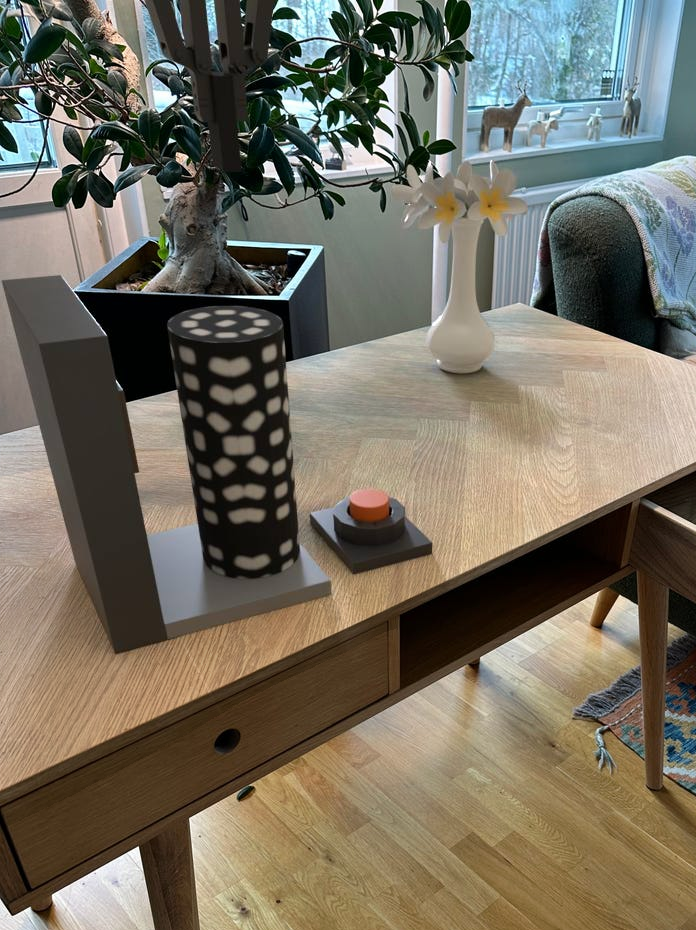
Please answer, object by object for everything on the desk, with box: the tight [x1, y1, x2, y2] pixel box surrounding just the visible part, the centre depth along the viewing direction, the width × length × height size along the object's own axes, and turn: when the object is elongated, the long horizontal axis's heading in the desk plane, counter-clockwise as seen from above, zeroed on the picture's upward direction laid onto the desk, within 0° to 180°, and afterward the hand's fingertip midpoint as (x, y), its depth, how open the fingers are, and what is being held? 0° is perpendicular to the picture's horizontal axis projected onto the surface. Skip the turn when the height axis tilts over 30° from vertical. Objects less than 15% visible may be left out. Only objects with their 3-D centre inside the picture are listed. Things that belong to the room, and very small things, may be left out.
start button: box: [349, 488, 390, 522], centre depth 81 cm, size 4×4×2 cm
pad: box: [309, 496, 434, 575], centre depth 82 cm, size 10×8×3 cm
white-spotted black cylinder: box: [166, 305, 301, 579], centre depth 71 cm, size 8×8×20 cm
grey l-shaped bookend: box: [1, 274, 333, 654], centre depth 69 cm, size 14×18×24 cm
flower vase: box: [390, 160, 528, 374], centre depth 113 cm, size 13×18×25 cm
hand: (227, 168), depth 71 cm, fingers closed
